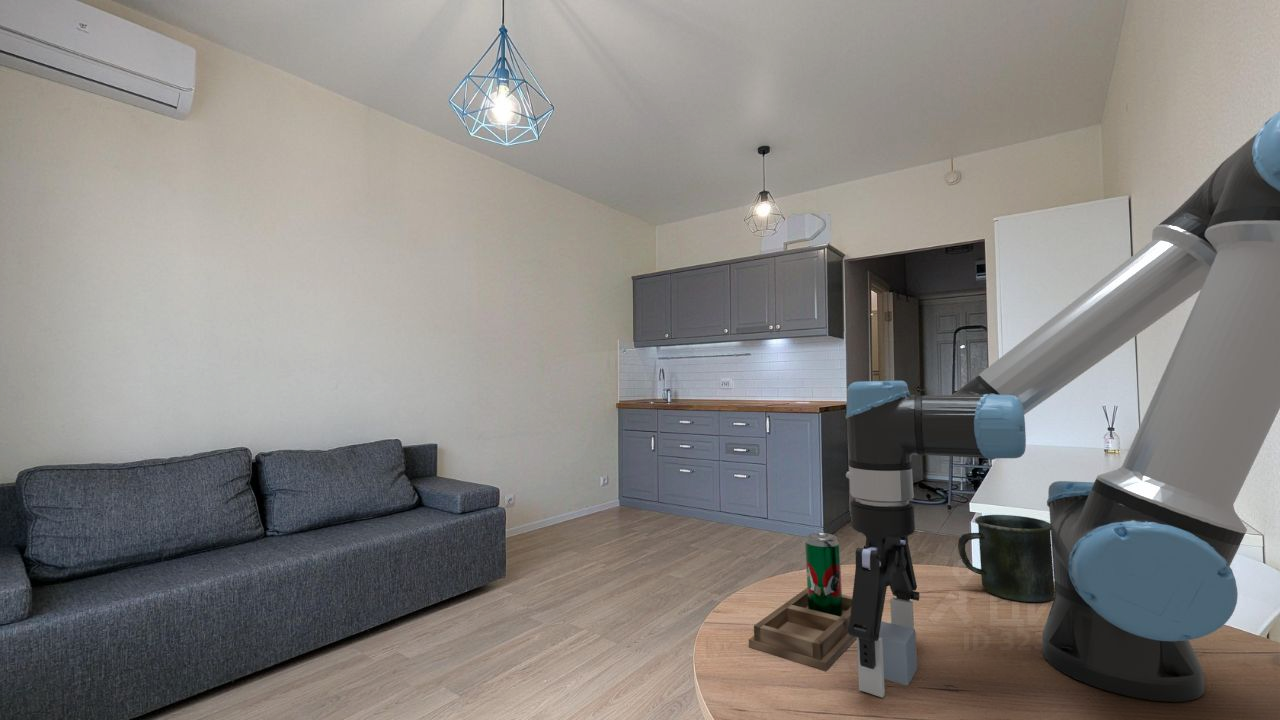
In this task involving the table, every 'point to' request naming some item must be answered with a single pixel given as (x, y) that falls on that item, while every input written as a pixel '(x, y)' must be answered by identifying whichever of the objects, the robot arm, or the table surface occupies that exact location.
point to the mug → (1013, 557)
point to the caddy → (804, 633)
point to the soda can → (824, 573)
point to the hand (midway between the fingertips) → (888, 669)
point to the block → (898, 652)
